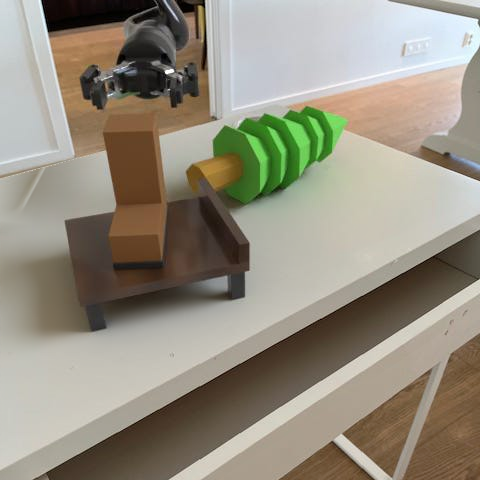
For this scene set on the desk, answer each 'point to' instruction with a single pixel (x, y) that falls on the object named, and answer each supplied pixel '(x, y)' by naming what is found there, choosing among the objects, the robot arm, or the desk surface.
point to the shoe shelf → (176, 254)
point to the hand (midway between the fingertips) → (136, 100)
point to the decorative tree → (267, 152)
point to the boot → (136, 191)
